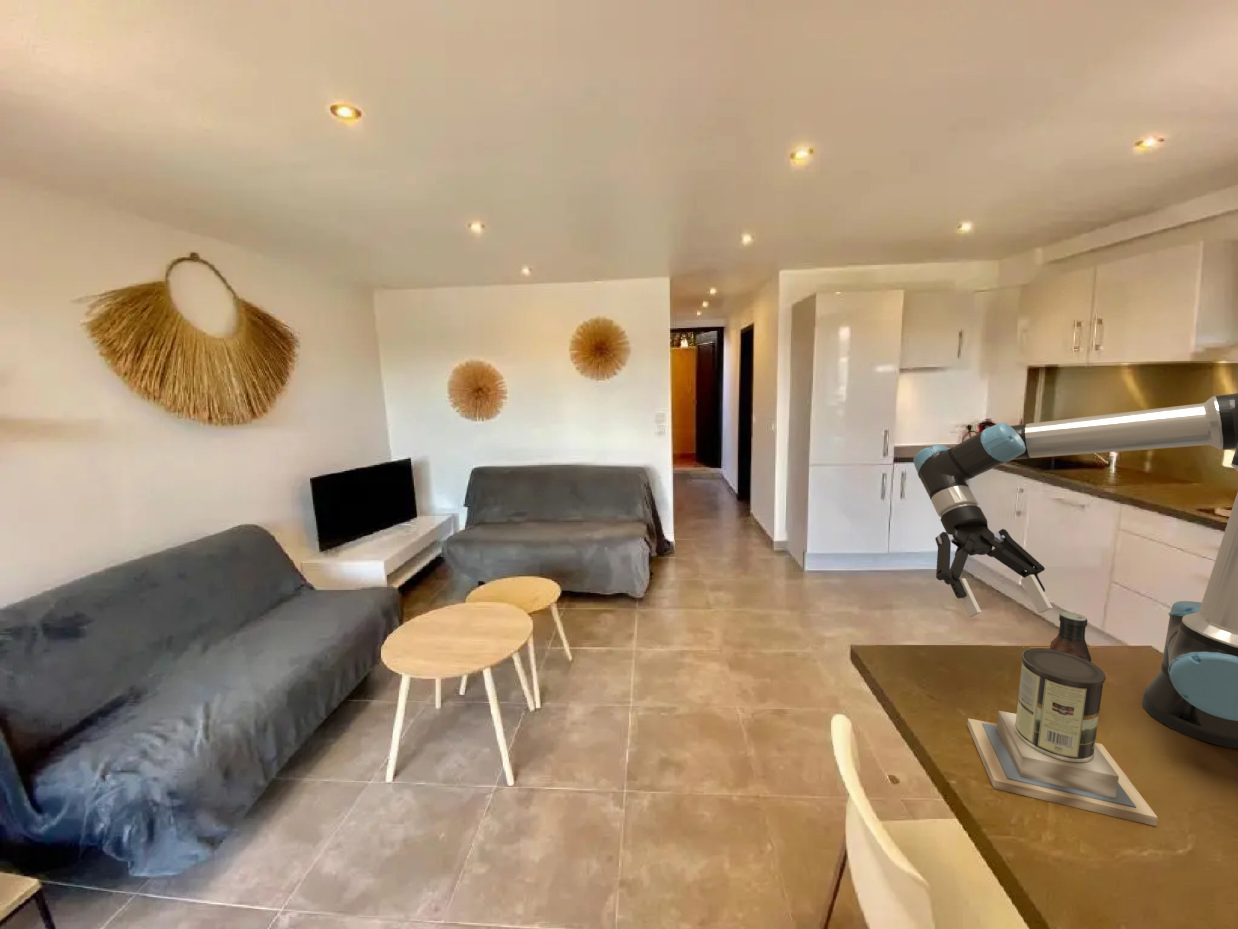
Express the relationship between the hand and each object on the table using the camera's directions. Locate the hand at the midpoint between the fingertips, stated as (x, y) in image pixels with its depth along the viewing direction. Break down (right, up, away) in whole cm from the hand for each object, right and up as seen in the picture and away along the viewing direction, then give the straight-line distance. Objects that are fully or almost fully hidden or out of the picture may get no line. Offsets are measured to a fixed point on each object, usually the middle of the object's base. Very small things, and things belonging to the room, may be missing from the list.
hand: (1010, 612), depth 92 cm
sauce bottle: (+17, -22, +8) cm, 29 cm away
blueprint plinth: (+1, -25, -7) cm, 26 cm away
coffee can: (+1, -19, -8) cm, 21 cm away
